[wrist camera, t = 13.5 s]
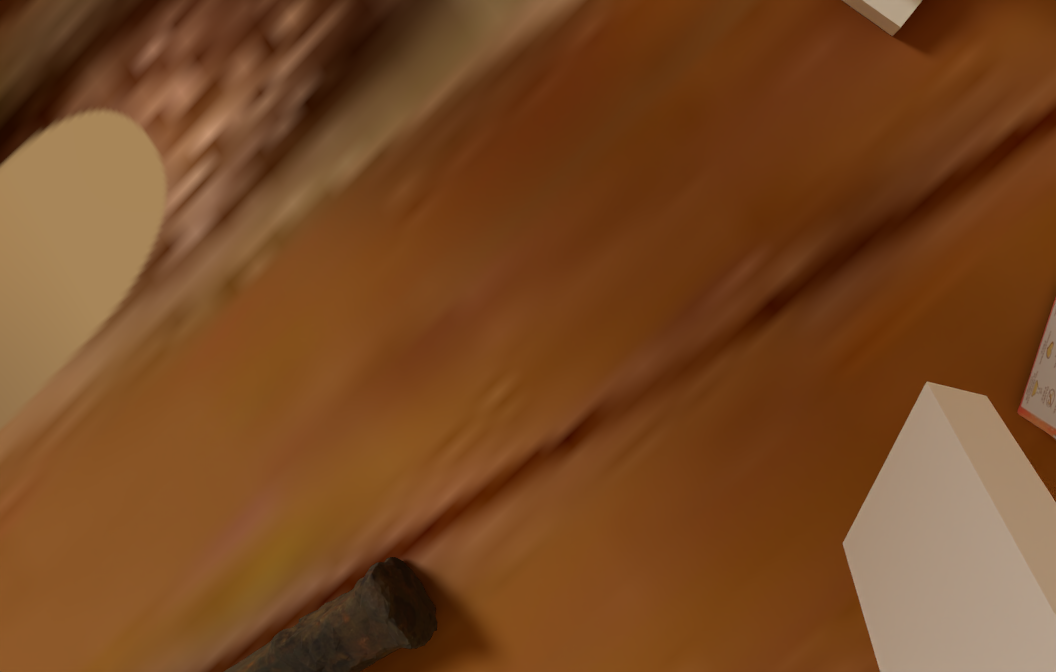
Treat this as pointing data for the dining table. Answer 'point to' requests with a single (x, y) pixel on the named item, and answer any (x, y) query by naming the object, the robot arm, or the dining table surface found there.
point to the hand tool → (353, 626)
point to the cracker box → (1043, 382)
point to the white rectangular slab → (885, 12)
